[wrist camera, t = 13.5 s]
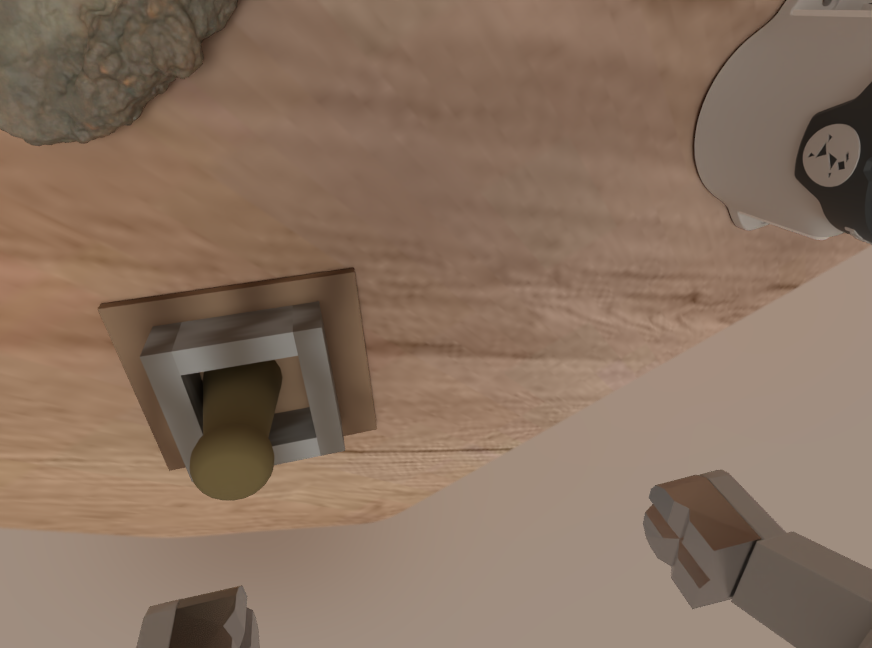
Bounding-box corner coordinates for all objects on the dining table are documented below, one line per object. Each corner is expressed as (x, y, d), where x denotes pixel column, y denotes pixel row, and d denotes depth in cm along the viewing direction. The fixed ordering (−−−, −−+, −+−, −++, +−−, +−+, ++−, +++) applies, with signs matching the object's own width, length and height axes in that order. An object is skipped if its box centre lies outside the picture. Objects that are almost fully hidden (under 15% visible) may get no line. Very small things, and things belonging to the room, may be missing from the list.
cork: (293, 395, 44) (293, 496, 35) (221, 417, 43) (203, 526, 34) (266, 338, 41) (259, 433, 32) (189, 360, 40) (159, 464, 31)
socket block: (353, 267, 40) (360, 295, 36) (375, 423, 49) (383, 460, 45) (100, 303, 37) (78, 339, 33) (171, 463, 46) (159, 507, 42)
